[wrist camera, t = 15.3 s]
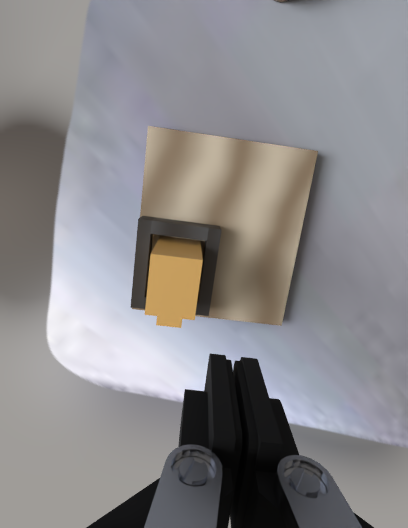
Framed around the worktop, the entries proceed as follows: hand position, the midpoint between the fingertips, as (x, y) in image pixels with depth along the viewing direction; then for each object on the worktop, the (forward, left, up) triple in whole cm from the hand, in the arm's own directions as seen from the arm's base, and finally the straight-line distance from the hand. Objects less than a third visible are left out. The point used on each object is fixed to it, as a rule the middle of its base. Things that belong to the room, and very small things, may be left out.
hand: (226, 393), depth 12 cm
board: (-1, -2, -25) cm, 25 cm away
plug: (+2, +1, -23) cm, 23 cm away
